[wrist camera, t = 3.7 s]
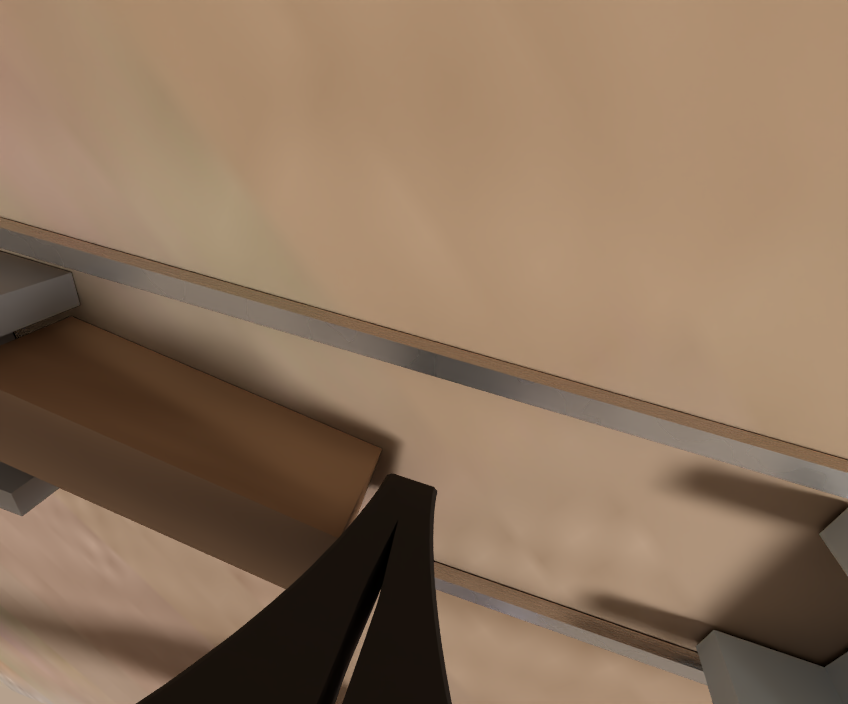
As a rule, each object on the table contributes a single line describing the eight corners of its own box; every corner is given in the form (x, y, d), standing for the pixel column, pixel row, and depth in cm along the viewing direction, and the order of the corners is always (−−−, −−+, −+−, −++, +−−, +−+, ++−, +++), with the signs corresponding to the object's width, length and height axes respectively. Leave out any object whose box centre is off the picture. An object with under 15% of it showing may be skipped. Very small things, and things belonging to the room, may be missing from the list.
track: (846, 717, 13) (856, 738, 12) (30, 431, 16) (16, 440, 15) (1156, 548, 8) (1189, 572, 8) (-66, 198, 11) (-89, 201, 11)
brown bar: (358, 511, 13) (316, 603, 11) (83, 391, 14) (-19, 452, 11) (381, 448, 12) (339, 538, 9) (71, 316, 12) (-52, 366, 10)
